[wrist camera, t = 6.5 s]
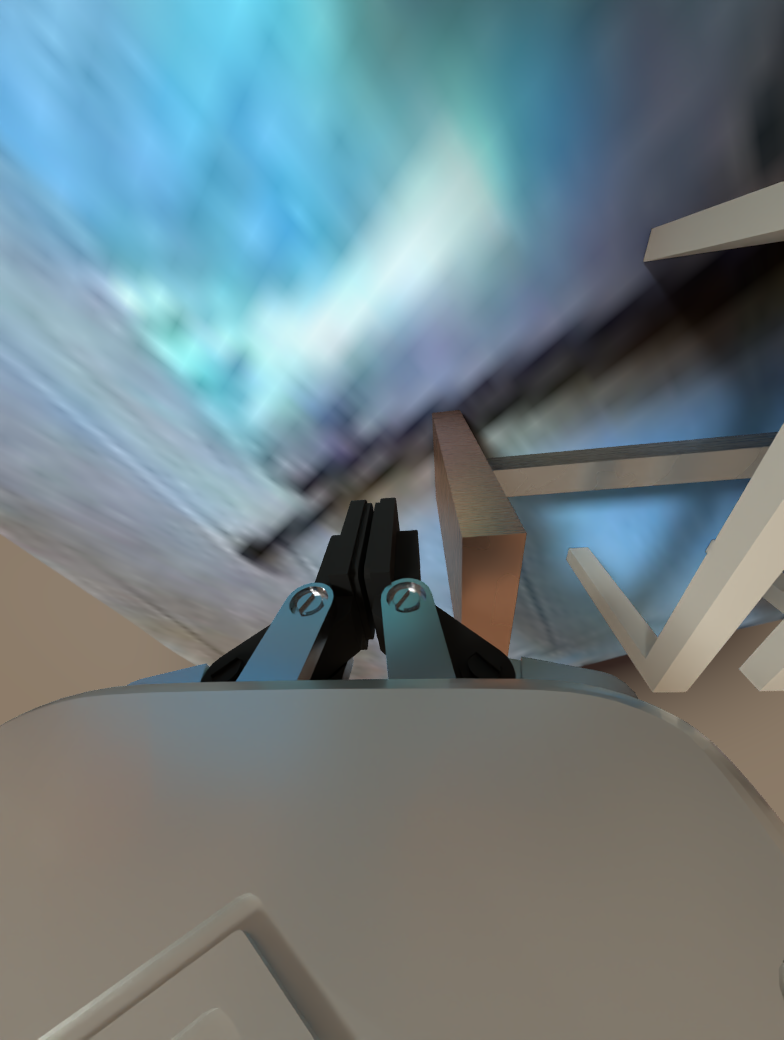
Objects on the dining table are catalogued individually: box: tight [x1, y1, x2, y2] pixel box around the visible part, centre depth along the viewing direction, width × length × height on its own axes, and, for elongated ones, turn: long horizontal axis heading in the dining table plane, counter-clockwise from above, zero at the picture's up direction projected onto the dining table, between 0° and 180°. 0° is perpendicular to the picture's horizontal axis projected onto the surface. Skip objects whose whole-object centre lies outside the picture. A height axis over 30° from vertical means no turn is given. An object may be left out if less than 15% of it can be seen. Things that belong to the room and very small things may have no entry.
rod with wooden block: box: [432, 410, 778, 657], centre depth 12 cm, size 13×20×11 cm, turn 97°
